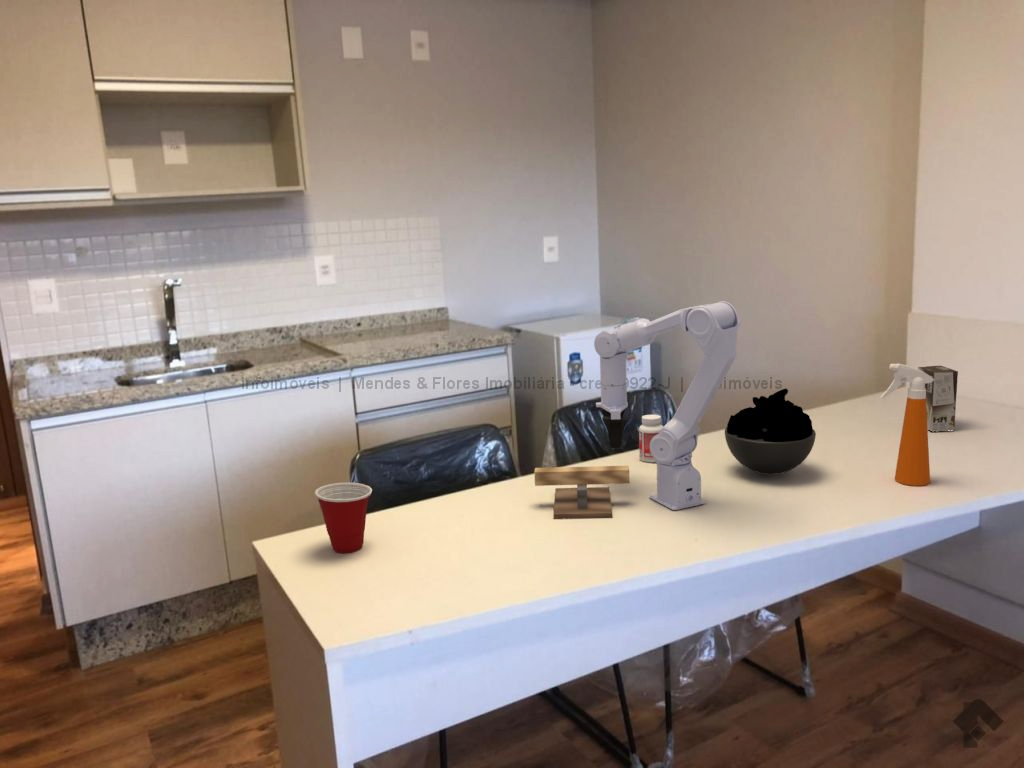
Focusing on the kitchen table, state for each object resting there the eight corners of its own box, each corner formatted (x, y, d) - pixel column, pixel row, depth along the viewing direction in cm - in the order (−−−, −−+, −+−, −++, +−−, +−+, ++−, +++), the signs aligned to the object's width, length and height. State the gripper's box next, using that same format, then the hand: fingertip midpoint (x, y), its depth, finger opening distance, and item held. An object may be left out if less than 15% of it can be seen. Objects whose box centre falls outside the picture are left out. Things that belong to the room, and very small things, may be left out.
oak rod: (628, 478, 176) (628, 465, 176) (629, 483, 173) (629, 469, 173) (535, 481, 178) (535, 467, 177) (535, 485, 175) (534, 472, 174)
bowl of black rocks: (758, 491, 179) (759, 407, 175) (708, 466, 197) (707, 390, 193) (833, 478, 185) (836, 396, 181) (778, 455, 203) (779, 380, 200)
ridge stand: (612, 517, 168) (611, 494, 167) (553, 518, 169) (552, 495, 168) (609, 491, 184) (608, 469, 183) (555, 492, 185) (554, 471, 184)
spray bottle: (873, 475, 185) (878, 360, 180) (925, 476, 183) (931, 360, 178) (880, 485, 178) (885, 366, 173) (934, 486, 176) (941, 366, 171)
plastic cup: (380, 553, 157) (375, 493, 154) (322, 562, 154) (316, 502, 151) (373, 533, 167) (368, 476, 164) (319, 541, 164) (313, 484, 161)
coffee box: (955, 431, 215) (959, 371, 212) (930, 432, 215) (934, 372, 212) (938, 422, 224) (941, 364, 221) (914, 423, 224) (917, 365, 221)
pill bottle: (669, 459, 204) (669, 416, 202) (651, 464, 201) (650, 421, 199) (652, 454, 209) (651, 412, 207) (634, 459, 206) (633, 416, 204)
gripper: (594, 377, 189) (596, 434, 192) (596, 391, 175) (597, 452, 178) (625, 376, 189) (626, 433, 191) (629, 390, 174) (630, 451, 177)
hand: (614, 442), depth 185 cm, fingers open, 7 cm apart
